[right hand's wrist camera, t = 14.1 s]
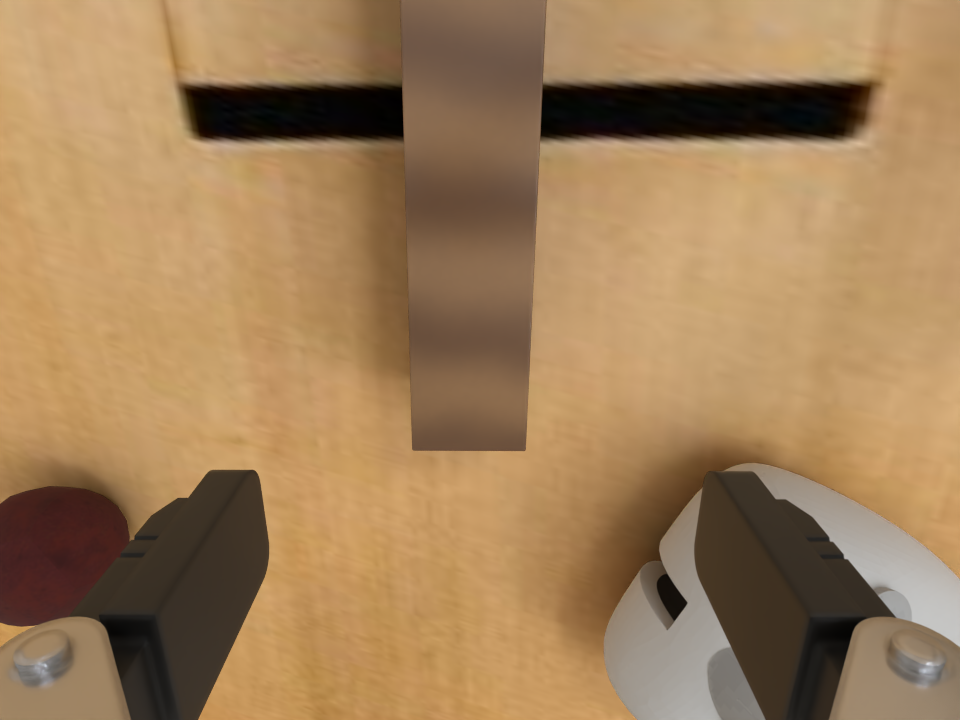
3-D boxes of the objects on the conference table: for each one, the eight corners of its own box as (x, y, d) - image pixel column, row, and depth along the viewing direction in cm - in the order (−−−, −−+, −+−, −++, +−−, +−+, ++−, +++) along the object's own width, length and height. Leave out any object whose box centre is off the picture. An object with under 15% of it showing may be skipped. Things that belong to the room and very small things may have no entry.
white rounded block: (652, 751, 45) (733, 1030, 31) (541, 499, 37) (584, 722, 23) (970, 658, 42) (1210, 917, 29) (922, 364, 34) (1221, 527, 21)
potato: (-10, 497, 36) (-114, 582, 30) (94, 437, 35) (8, 512, 29) (80, 586, 39) (1, 682, 32) (180, 532, 37) (118, 621, 31)
